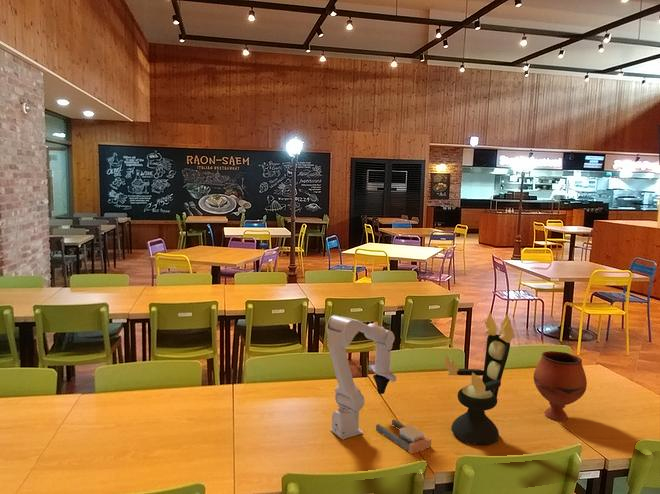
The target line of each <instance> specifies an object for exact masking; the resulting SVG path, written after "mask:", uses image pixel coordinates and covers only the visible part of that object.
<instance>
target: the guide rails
mask: <svg viewBox="0 0 660 494" xmlns="http://www.w3.org/2000/svg"><path fill="white" fill-rule="evenodd" d="M392 425H394V426H395V427H397V428H399V429H400V428H403V427H406V425H404V424H402V423H401V422H400V421H398V420H397V419H392V420H391V426H392ZM394 426H393V427H394ZM395 427H394V428H395ZM397 428H396V429H397ZM399 429H398V430H399ZM377 430H378V431H379V432H378V431H377ZM375 431H377V432H378V433H380V432H381V433H382V434H381V433H380V434H381V435H383V434H384V435H385V436H384V435H383V436H384V437H386V436H387V437H388V438H387V437H386V438H387V439H389V438H390V439H391V440H390V439H389V440H390V441H392V440H393V441H394V442H393V441H392V442H393V443H395V442H396V443H397V444H396V443H395V444H396V445H398V444H399V445H400V446H399V445H398V446H399V447H401V446H402V447H403V448H402V447H401V448H402V449H404V448H405V449H406V450H408V451H409V452H410V453H409V452H408V451H407V452H408V453H409V454H411V453H414V454H416V453H415V452H417V451H419V452H421V451H420V450H422V449H425V448H428V447H430V446H431V447H432V438H430V437H426V438H425V437H424V439H422V440H419V441H416V442H413V443H410V444H409V443H407V442H405V441H404V440H402V439H401V438H399V435H396V434H394V433H393V432H392V431H390V429H387V428H385V427H384V426H382V425H381V424H380V423H379V424H376V426H375ZM405 449H404V450H405ZM428 449H429V448H428ZM406 450H405V451H406ZM425 450H426V449H425ZM422 451H423V450H422ZM417 453H418V452H417Z"/></svg>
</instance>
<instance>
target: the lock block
mask: <svg viewBox="0 0 660 494" xmlns="http://www.w3.org/2000/svg"><path fill="white" fill-rule="evenodd" d="M405 426H406V425H405ZM398 437H399V438H401V439H402V440H404V441H405V442H407V443H409V444H410V443H413V442H416V441H419V440H422V439H424V438H425V432H423V431H421V430H420V429H418V428H416V427H414V426H412V425H407V426H406V427H403V428H400V430H399V435H398Z"/></svg>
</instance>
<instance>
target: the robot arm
mask: <svg viewBox="0 0 660 494" xmlns="http://www.w3.org/2000/svg"><path fill="white" fill-rule="evenodd" d="M325 330H326V333H327V347H328V352H329V356H330V359H331V362H332V365H333V370H334V374H335V377H336V382H337V386H336V387H335V388H334V392H335V393H334V395H335V397H334V398H335V399H334V400H335V403H336V404H337V407H338V409H336V410H335V411H333V412H332V415H331V428H330V432H332V433H333V434H335V435H336V437H338V438H340V439H341V440H345V439H349V438H351V437H356V436H359V435H362V434H364V431H363V430H361V429H360V428H359V426H360V425H359V422H360V421H359V420H360V411H361V410H362V409H363V407H364V405H365V400H366V399H365V396H364V394H362V392H361V389H360V388H359V387H358V386H357V385H356V384H355V382H354V377H353V374H352V370H351V367H350V363H349V359H348V355H347V351H346V348H347V347H349V346H350V344H351V343H352V341H353V340H354V338H355V337H356V335H357V334H359V332H360V333H363V335H364V336H365V338H366V339H368V340H371V341H373V342H374V343H375V360H374V361H375V362H374V364H369V365H368V371H372V372H374V375H373V376H372V378H373V380H374V381H375V384H376V390H377V393H378V394H379V395H384V394H385V392H386V388H387V386H388V384H389V382H391V383H393V382H394V383H395V382H397V376H396V375H395V374H394V373H393V372H392V369H391V354H392V353H391V350H392V349H393V343H394V342H395V340H396V339H395V338H396V337H395V334H394V333H393V331H392V330H390V329H386V328H385V326H382V325H380V326H379V324H378V323H376V322H373V323H368V324H366V323H365V322H363V321H361V320H359V319H354V318H351V317H347V316H341V315H340V316H339V315H338V314H333V315H331V316H330V317H329V318H328V321H327V323H326V325H325Z"/></svg>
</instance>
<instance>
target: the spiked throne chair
mask: <svg viewBox="0 0 660 494" xmlns="http://www.w3.org/2000/svg"><path fill="white" fill-rule="evenodd" d="M492 315H493V314H492V313H491V312H489V313H488V315H487V317H486V319H485V322H484V325H485V330H484V333H485V334H487V335H488V336H487V338H486V345H485V357H484V363H483V364H484V366H483V369H479V368H477V369H476V368H458V366H457V364H456V363H455V362H454V360H452V359H450V358H449V357H448V356H446V355H445V356H444V357H445V358H444V368H445V369H447V373H446V375H447V376H466V377H467V376H470V377H471V382H470V383H471V384H468V385H466V386H463V387H462V388H461V389H459V390H458V392H457V395H456V396H457V400H458V402H459V403H460V404H461V405H463V406H464V407H466V408H468V409H467V410H466V412H465V413H463V414H461V415H459V416H458V417H457V418H455V420H454V421H453V422H452V424H451V427H450V430H451V432H452V434H453V435H454V436H455V437H456V436H457V437H456V438H457V439H459V440H460V439H461V441H463V442H464V441H466V443H468V442H469V443H468V444H471V443H473V444H472V445H477V444H478V446H486V445H491V444H493V443H495V442H496V441H497V440H498V439H499V437H500V434H499V433H500V432H499V429H498V428H497V425H496V424H495V423H494V422H493V421H492V420H491V419H490V418H489V417H488V416H487V415H486V411H489V410H492V409H494V408H495V407H496V406H497V404H498V393H499V389H500V387H501V385H502V377H503V374H504V371H505V366H506V364H507V360H508V358H509V353H510V348H511V342H512V340H513V339H514V338H515V334H514V329H513V325H512V321H511V318H510V317H509V314H508V313H506V315H505V317H504V318H503V319H502V321H501V323H500V330H499V329H498V326H497V324H496V321H495V320H494V318H493V316H492ZM498 330H499V333H498V334H497V332H498ZM481 376H482V377H481Z"/></svg>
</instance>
